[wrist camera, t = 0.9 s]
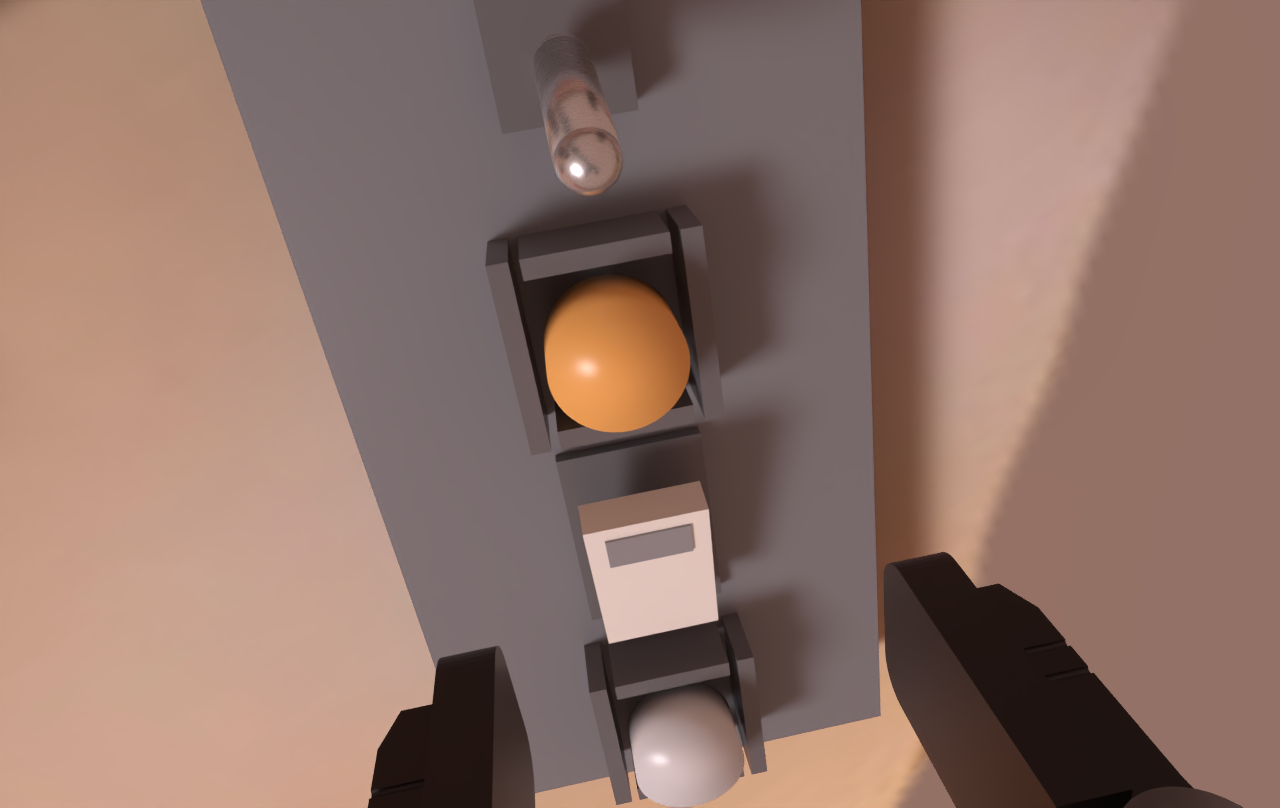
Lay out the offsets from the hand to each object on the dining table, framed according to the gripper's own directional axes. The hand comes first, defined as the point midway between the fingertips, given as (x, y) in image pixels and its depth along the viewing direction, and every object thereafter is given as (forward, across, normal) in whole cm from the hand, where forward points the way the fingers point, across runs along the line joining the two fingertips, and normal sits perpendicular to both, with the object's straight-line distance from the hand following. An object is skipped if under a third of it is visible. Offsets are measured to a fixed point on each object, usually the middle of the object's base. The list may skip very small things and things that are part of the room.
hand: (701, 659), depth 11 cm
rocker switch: (+11, 0, +6) cm, 13 cm away
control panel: (+15, 0, +3) cm, 16 cm away
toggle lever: (+11, 0, -6) cm, 13 cm away
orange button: (+11, 0, 0) cm, 11 cm away
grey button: (+11, 0, +13) cm, 17 cm away
